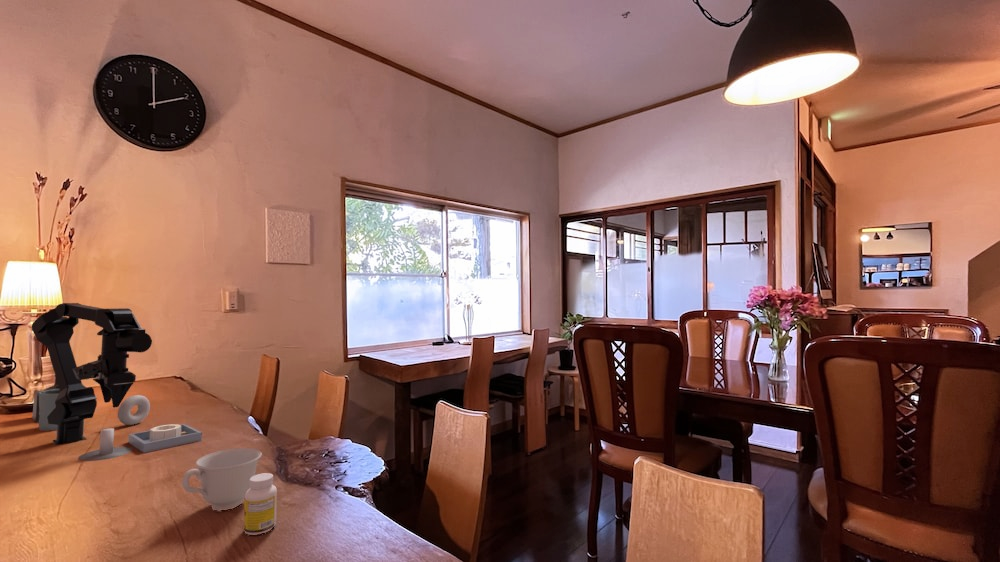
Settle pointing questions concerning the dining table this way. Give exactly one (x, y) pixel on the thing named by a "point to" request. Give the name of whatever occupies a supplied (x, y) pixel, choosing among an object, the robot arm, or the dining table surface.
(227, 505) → the teacup
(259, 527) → the supplement bottle
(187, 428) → the tray
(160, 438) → the ring
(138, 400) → the donut
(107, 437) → the stake
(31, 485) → the dining table surface
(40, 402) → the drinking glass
